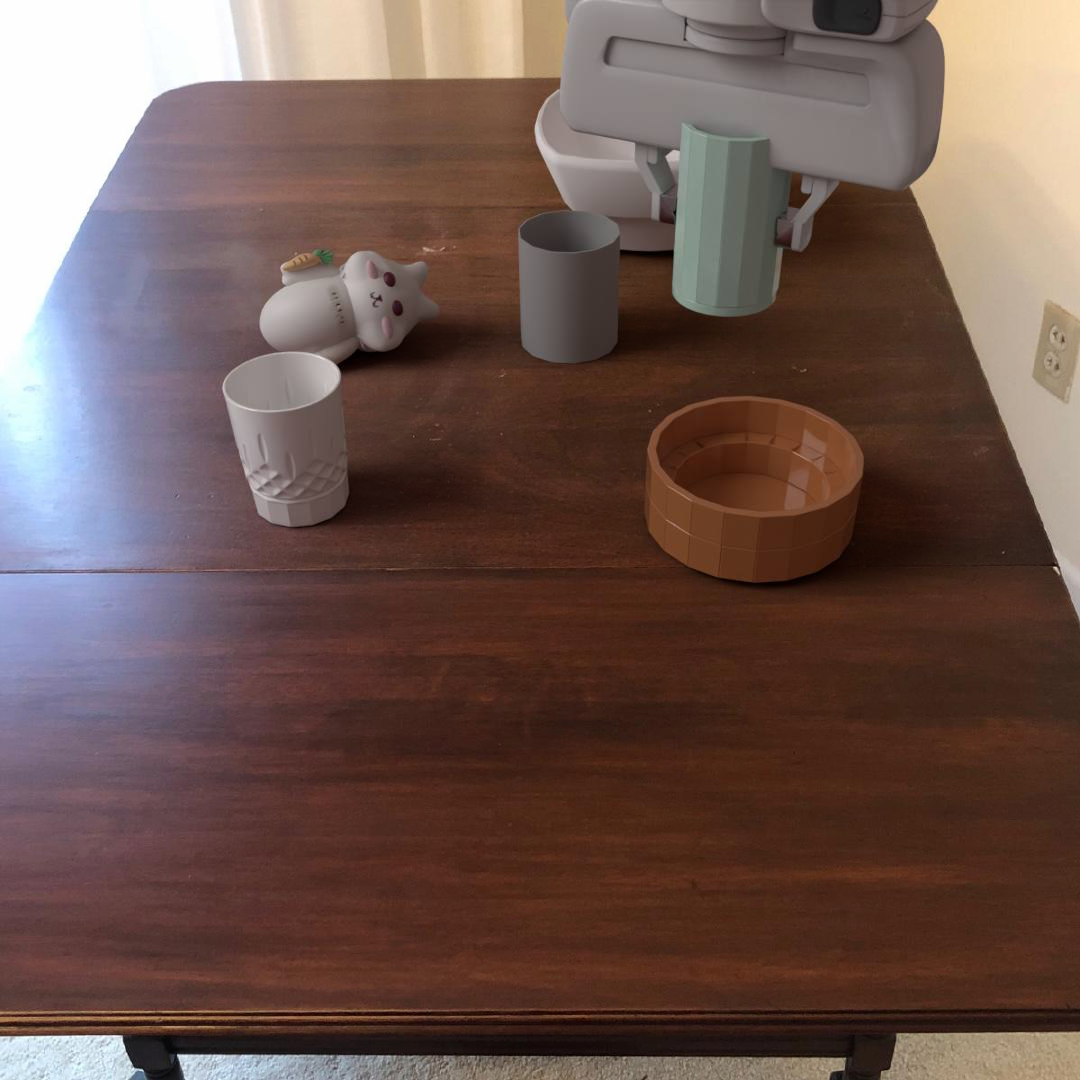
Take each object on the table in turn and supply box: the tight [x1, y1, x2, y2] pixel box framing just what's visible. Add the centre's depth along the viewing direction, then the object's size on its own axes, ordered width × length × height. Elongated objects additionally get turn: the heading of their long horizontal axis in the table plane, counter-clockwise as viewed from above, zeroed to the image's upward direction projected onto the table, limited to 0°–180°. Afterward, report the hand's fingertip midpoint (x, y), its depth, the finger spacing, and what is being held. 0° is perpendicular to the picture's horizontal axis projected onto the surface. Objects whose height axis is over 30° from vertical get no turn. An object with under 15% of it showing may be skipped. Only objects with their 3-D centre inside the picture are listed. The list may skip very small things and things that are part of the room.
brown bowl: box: [643, 395, 865, 584], centre depth 83 cm, size 14×14×6 cm
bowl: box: [534, 88, 679, 252], centre depth 119 cm, size 22×22×12 cm
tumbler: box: [671, 123, 793, 318], centre depth 67 cm, size 6×6×10 cm
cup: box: [517, 209, 621, 365], centre depth 103 cm, size 8×8×10 cm
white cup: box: [222, 351, 350, 528], centre depth 85 cm, size 8×8×10 cm
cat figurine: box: [259, 248, 440, 366], centre depth 103 cm, size 10×8×15 cm
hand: (730, 232), depth 68 cm, fingers closed on tumbler, 6 cm apart
